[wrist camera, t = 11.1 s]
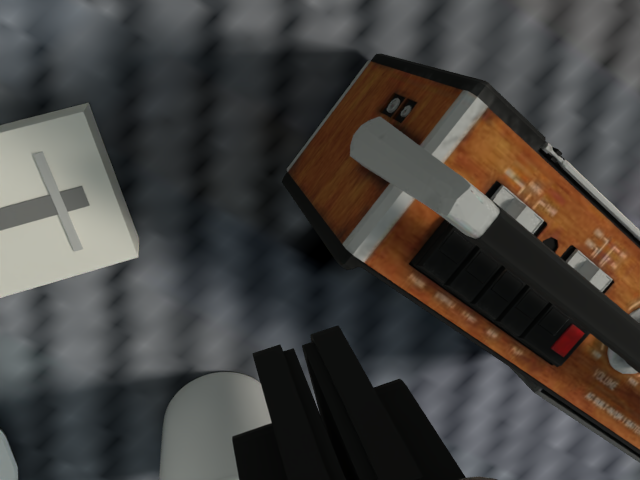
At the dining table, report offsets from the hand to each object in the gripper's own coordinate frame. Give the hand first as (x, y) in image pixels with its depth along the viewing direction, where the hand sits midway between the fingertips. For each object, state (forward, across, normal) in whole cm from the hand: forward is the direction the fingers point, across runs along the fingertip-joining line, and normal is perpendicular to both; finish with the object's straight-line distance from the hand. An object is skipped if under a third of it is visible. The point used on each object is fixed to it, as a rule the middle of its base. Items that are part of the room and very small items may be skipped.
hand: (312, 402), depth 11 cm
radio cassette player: (+29, -16, +12) cm, 36 cm away
